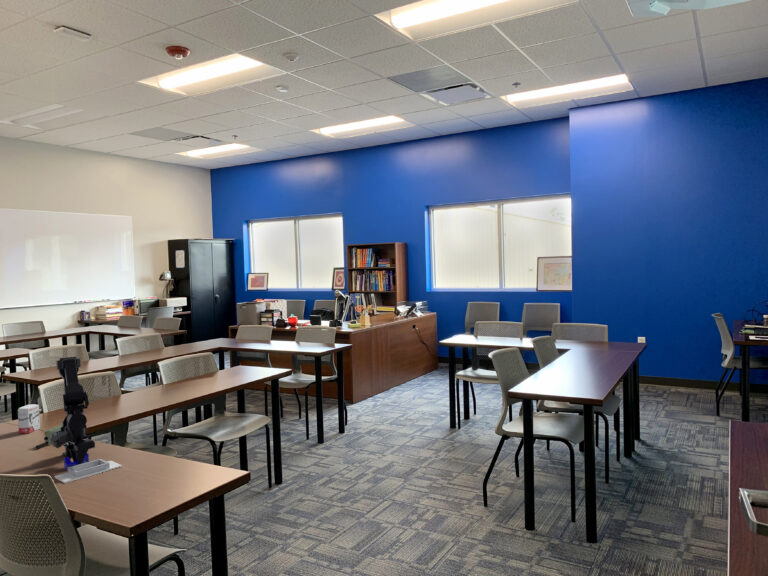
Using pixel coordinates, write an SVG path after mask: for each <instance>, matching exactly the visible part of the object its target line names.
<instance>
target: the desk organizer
mask: <svg viewBox="0 0 768 576" xmlns="http://www.w3.org/2000/svg"><path fill="white" fill-rule="evenodd" d="M119 467H120V468H122V467H123V465H122V464H120V463H118V462H116V461H113V460H104V459H102V458H97V459H95V460H91V461H90V460H89V462H86V463H83V464H79V465H75V466H72V467H68V471H67V472H65V473H61V474H58V475H54V479H56V480H58V481H60V482H62V483H63V484H68V483H71V482H74V481H78V480H82V479H85V478H88V477H92V476H96V475H98V474H99V475H100V474H103V473H106V472H110V471H113V470H116V468H117V469H119ZM112 469H113V470H112ZM109 470H110V471H109ZM102 472H103V473H102Z"/></svg>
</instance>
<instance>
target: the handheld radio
mask: <svg viewBox="0 0 768 576" xmlns="http://www.w3.org/2000/svg"><path fill="white" fill-rule="evenodd" d="M61 427H62V423H61V424H59V425H57V426H54V427H51V428H49V429H46V430H44V431H43V435H44V438H43V439H44V442H43V443H40V444H38V445H35V448H36V449H40V448H42V447H45V446H51V445H50V444H52V443H51V441H50V439H51V438H52V437H54V436H56V435H57V434H59V433H60V432H61Z"/></svg>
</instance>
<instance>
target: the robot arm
mask: <svg viewBox="0 0 768 576" xmlns="http://www.w3.org/2000/svg"><path fill="white" fill-rule="evenodd" d="M55 362H56V365H55V366H56V370H58V375H59V376H60V377H61V379H63V388H64V390H63V391H64V394H62V404H63V411H64V412H65V417H64V419H63V421H62V423H61V424H62V427H61V432H60V433H59V434H57V435H56V436H54V437H52V438H51V439H50V441H51V443H52V445H51V446H52V447H53V448H56V449H59V448H62V446H63V447H64V450H65V451H64V452H62V453H61V455H63V456H65V457H69V458H71V459H72V462H76V461H77V463H78V465H79V464H82V462H83V460H84V458H85V456H86V453H88V452H89V450H91V449H95V448H96V442H95V441H94V440H93V439H90V438H88V435H87V427H88V426H87V421H88V419H87V416H86V414H85V410H86V409H88V406H89V405H90V402H89V394H88V393H87V391H85V390H84V385H82V384H80V381H79V376H78V372H79V371H80V369H79V368H81V366H82V363H81V358H78V357H77V356H70V357H68V356H67V357H59V360H56V361H55Z"/></svg>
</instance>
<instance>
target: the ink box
mask: <svg viewBox="0 0 768 576" xmlns="http://www.w3.org/2000/svg"><path fill="white" fill-rule="evenodd" d="M17 419H18V420H17V421H18V423H17V424H18V434H20V435H21V434H23V433H24V434H30V433H34V432H35V431H38V430H40V429H41V425H40V405H39V404H32V403H31V404H26V405H24V406H21V407H18V409H17ZM24 434H23V435H24Z"/></svg>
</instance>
